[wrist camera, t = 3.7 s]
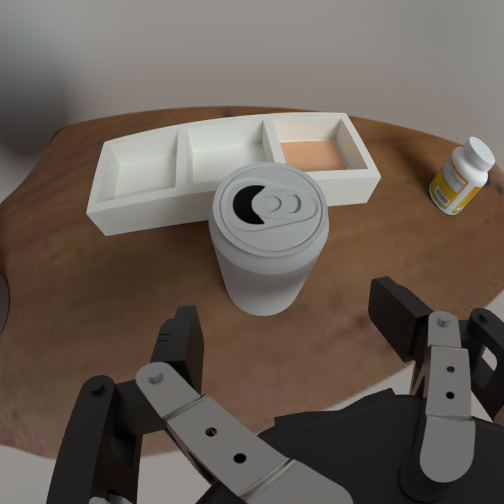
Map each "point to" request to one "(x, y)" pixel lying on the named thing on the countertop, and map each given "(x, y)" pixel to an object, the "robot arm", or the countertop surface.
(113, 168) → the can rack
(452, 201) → the supplement bottle
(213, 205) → the beverage can
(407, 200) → the countertop surface
